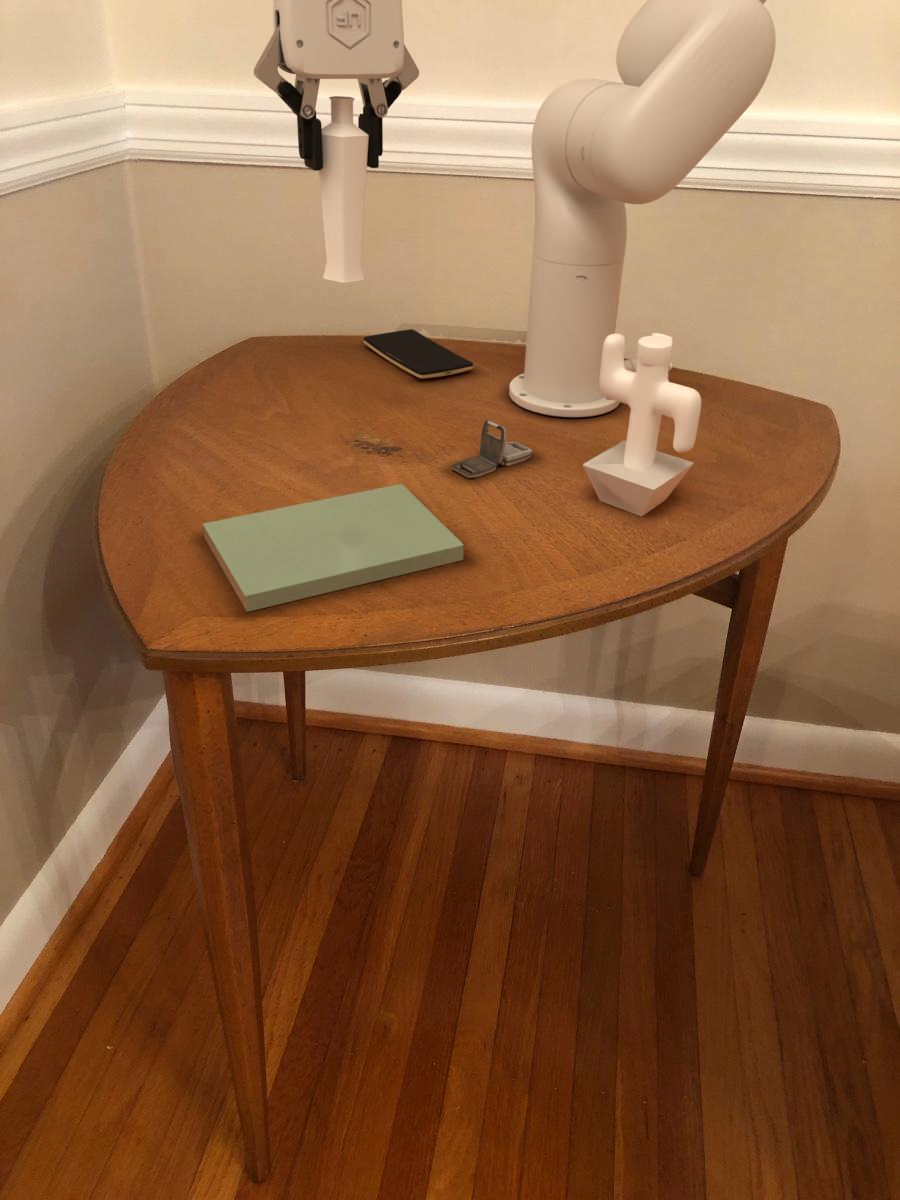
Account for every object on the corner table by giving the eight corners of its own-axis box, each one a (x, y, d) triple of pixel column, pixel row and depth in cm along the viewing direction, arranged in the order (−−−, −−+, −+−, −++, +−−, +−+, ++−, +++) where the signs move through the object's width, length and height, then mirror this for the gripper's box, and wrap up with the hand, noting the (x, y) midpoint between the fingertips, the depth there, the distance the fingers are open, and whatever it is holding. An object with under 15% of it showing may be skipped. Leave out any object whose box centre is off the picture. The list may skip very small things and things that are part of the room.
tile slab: (402, 498, 85) (402, 483, 84) (463, 560, 76) (464, 544, 75) (204, 538, 78) (202, 523, 77) (246, 612, 69) (244, 595, 68)
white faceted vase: (360, 285, 86) (360, 101, 78) (315, 280, 87) (310, 97, 79) (375, 274, 90) (376, 97, 82) (331, 269, 91) (328, 93, 83)
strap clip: (514, 448, 95) (516, 408, 92) (534, 458, 93) (538, 417, 91) (448, 470, 90) (450, 428, 88) (469, 481, 88) (471, 438, 86)
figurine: (659, 532, 81) (688, 362, 73) (567, 497, 86) (585, 335, 78) (698, 503, 86) (729, 340, 77) (609, 472, 91) (630, 316, 82)
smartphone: (421, 373, 108) (361, 336, 119) (421, 382, 109) (361, 345, 119) (475, 363, 112) (412, 328, 122) (475, 372, 112) (412, 336, 123)
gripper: (238, -98, 67) (259, 178, 77) (452, -84, 73) (446, 170, 83) (214, -93, 73) (236, 164, 83) (414, -81, 79) (412, 157, 89)
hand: (341, 164), depth 83 cm, fingers closed on white faceted vase, 4 cm apart
